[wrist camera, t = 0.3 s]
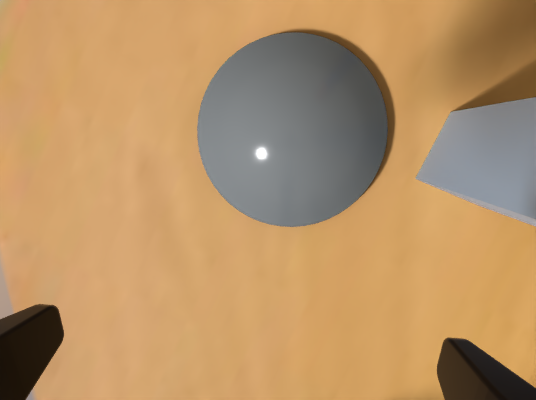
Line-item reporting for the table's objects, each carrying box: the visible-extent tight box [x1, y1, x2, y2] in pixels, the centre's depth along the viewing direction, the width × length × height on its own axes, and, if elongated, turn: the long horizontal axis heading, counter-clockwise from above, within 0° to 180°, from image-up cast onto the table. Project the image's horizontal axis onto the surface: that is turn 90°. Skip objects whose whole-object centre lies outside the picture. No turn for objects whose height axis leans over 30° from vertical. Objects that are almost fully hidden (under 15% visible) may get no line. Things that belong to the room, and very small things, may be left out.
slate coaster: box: [197, 33, 388, 227], centre depth 19 cm, size 12×12×1 cm
